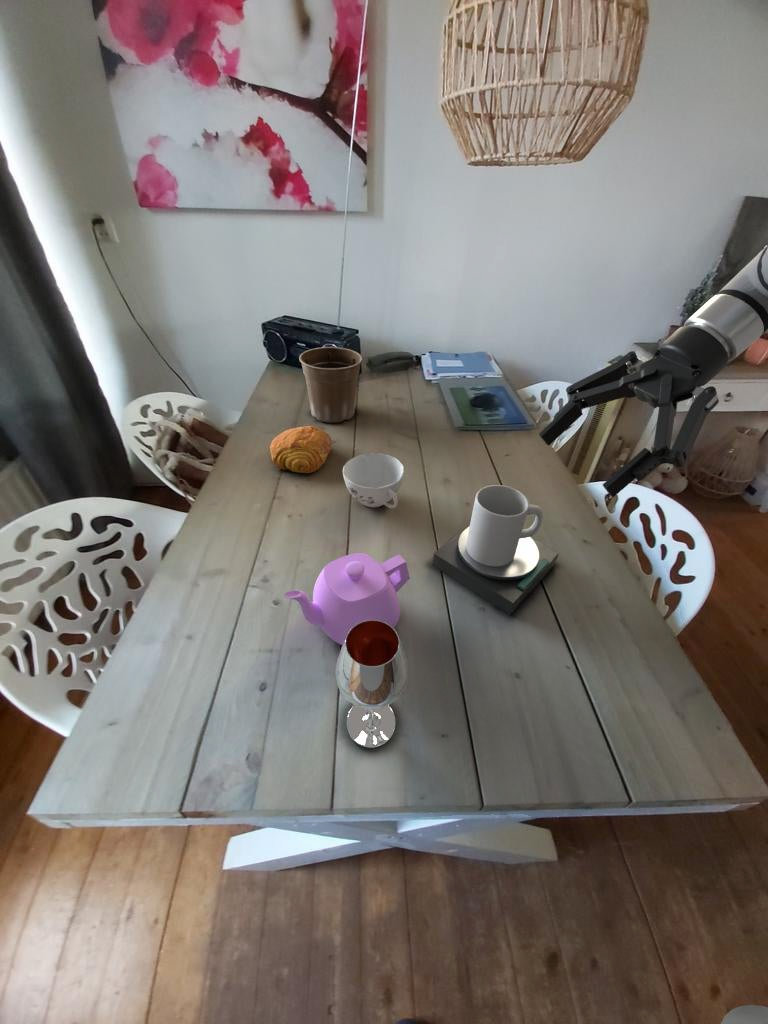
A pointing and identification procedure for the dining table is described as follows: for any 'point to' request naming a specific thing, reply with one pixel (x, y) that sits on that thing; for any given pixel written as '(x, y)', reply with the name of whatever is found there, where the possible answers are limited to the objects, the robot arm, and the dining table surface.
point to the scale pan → (514, 570)
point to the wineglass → (371, 680)
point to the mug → (499, 524)
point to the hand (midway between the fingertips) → (572, 463)
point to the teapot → (354, 594)
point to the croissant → (301, 449)
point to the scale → (490, 589)
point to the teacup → (374, 479)
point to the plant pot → (331, 382)
